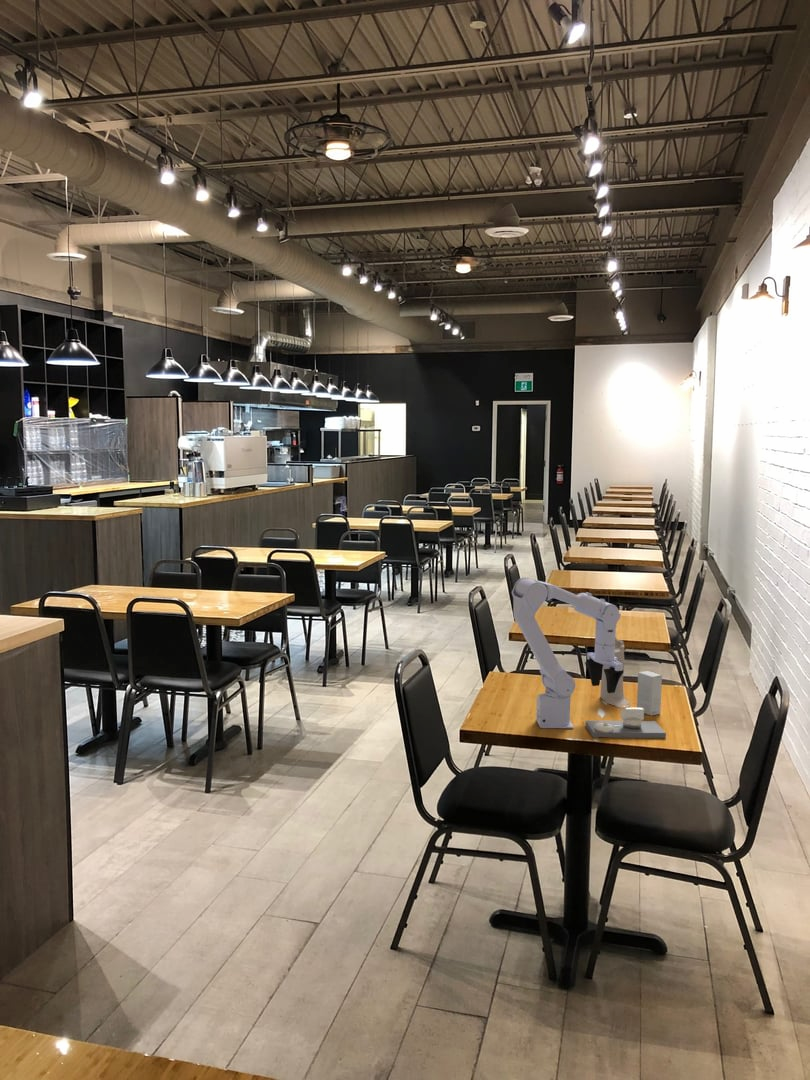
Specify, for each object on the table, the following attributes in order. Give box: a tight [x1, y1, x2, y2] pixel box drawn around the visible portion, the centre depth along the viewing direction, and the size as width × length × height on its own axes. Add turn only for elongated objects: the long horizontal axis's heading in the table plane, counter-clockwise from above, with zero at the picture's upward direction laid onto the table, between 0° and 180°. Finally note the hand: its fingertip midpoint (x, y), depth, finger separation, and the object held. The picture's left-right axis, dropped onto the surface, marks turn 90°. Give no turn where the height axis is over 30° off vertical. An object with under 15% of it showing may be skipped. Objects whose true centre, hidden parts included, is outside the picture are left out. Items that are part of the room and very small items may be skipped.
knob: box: [620, 705, 645, 729], centre depth 238 cm, size 6×5×6 cm
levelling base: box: [584, 720, 667, 739], centre depth 238 cm, size 20×10×3 cm, turn 90°
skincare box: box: [636, 670, 663, 716], centre depth 256 cm, size 6×4×12 cm
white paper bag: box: [599, 636, 631, 709], centre depth 266 cm, size 7×14×20 cm, turn 9°
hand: (603, 689), depth 247 cm, fingers open, 7 cm apart
